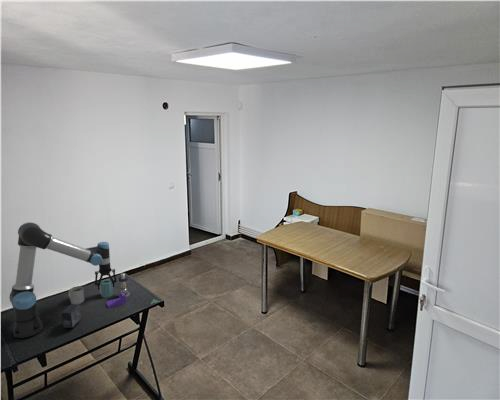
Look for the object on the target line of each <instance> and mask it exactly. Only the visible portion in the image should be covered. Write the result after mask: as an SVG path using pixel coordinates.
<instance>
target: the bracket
mask: <svg viewBox="0 0 500 400" xmlns="http://www.w3.org/2000/svg"><path fill="white" fill-rule="evenodd" d="M120 293H121V292H120ZM126 298H127V297H126ZM126 298H125V294H124V292H122V293H121V297H118V298H114V299H109V300H107V301H105V302H106V303H105V305H106V307H107V309H109V308H114V307H118V306H122V305H123V306H124V305H125V304H127V302H126V301H127V300H126Z"/></svg>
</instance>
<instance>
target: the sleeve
mask: <svg viewBox="0 0 500 400" xmlns="http://www.w3.org/2000/svg"><path fill="white" fill-rule="evenodd" d="M111 282H112V281H111V280H110V279H109V278H107V279H104V280H101V282H100V284H101V294H100V295H101V296H100V297H101V298H103V299H104V298H105V299H107V298H110V297H112V296H113V292H112V283H111Z"/></svg>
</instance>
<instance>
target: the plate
mask: <svg viewBox="0 0 500 400" xmlns="http://www.w3.org/2000/svg"><path fill="white" fill-rule="evenodd" d="M127 293H128V294H127V295H126V296H125V298H129V296H130V295H131V293H130V292H129V291H127ZM120 297H121V292H120V293H119V294H118V298H120Z"/></svg>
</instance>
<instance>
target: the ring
mask: <svg viewBox="0 0 500 400" xmlns="http://www.w3.org/2000/svg"><path fill="white" fill-rule="evenodd" d="M127 281H128V276H127V275H125V279H121V276H118V282H120V283H121V282H127Z"/></svg>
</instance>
